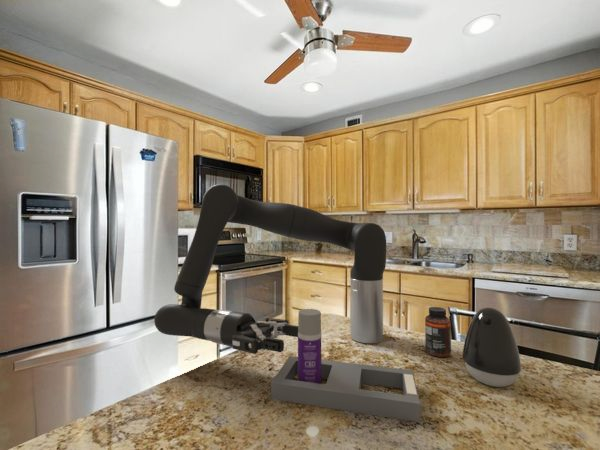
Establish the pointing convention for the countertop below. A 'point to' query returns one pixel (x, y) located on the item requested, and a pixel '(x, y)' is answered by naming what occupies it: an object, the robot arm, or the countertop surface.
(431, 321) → the supplement bottle
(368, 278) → the robot arm
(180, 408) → the countertop surface
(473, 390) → the countertop surface
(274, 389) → the socket board
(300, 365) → the container
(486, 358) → the pump dispenser
